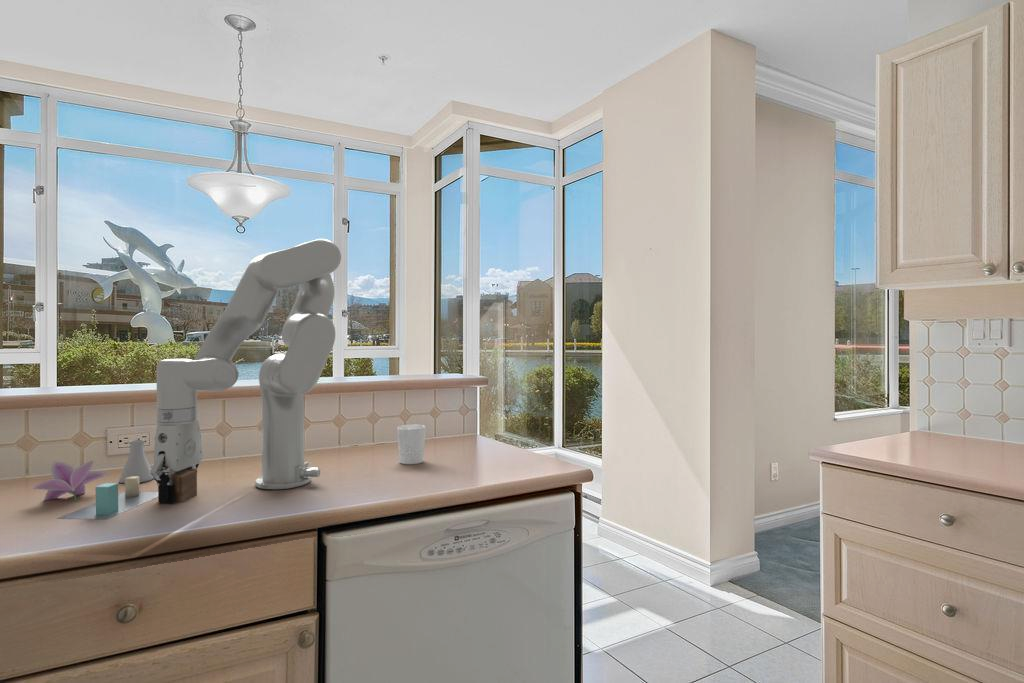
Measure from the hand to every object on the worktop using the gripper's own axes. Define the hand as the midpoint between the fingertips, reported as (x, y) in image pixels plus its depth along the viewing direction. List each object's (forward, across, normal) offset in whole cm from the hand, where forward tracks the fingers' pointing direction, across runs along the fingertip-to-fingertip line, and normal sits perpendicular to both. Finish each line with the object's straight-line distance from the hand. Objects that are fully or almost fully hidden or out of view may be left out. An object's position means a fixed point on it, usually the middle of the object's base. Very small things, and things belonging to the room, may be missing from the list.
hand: (177, 497), depth 122 cm
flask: (+1, +16, +21) cm, 26 cm away
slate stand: (+1, -5, +10) cm, 11 cm away
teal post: (0, -10, +8) cm, 13 cm away
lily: (+1, -2, +22) cm, 23 cm away
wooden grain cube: (+1, 0, 0) cm, 1 cm away
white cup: (+1, +40, -42) cm, 58 cm away
